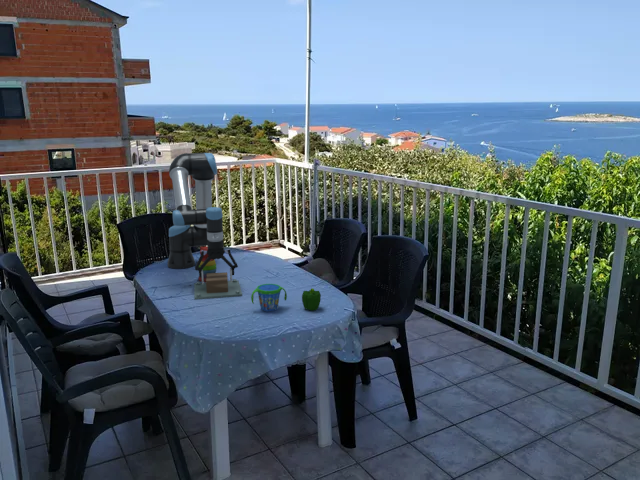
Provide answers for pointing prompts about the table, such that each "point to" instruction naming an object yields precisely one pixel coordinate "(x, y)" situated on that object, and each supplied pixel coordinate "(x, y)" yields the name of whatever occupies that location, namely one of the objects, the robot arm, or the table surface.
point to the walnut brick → (217, 282)
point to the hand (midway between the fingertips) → (217, 282)
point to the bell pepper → (311, 299)
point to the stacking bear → (207, 265)
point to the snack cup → (268, 296)
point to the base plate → (201, 293)
